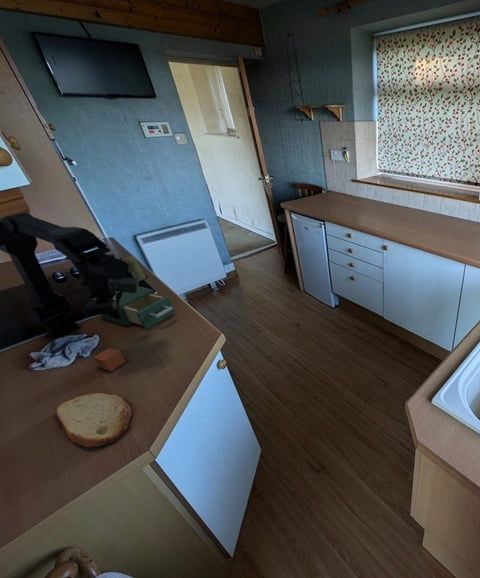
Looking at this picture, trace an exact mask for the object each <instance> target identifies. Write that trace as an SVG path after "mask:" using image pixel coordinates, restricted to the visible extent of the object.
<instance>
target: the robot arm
mask: <svg viewBox="0 0 480 578" xmlns="http://www.w3.org/2000/svg"><path fill="white" fill-rule="evenodd" d="M38 240H42V241H45V242H48V243H50V244H51V245H53V247H54V249H55V250H56V251H57V252H60V253H61V254H62V255H64V256H65V260H67V261H70V262H71V263H72V265H73V267H74V268H75V270H76V272H77V273H78V276H79V277H80V279H81V281H80V285H81V287H85V288H86V289H87V291H88V292H89V293H88V295H87V297H88V299H94V298H96V300H94V301H93V300H89V301H88V302H87V303H86V305H85V307H84V308H83V310H82V312H83V314H84V316H85V317H86V318H92V317H96V316H101V314H108V315H110V316H111V317H113V318H115V319H120V318H121V313H120V306H119V302H120V299H121V297H122V294H123V292H129V293H136V292H137V289H138V286H139V281H138V280H139V279H138V278H137V276H135V275H134V273H133V272H129V267H128V265H127V263H125V262H124V261H123V260H122V259H120V258H116V257H115V255H114V254H107V253H110V252H111V249H110V248H109V247H108V245H107V243H105V242H104V241H103V240H102V239H101V238H99V237H98V236H96V235H95V233H93V232H92V231H90V230H88V229H86V228H84V227H78V226H60V225H58V224H55V223H52V222H50V221H47V220H44V219H41V218H39V217H36V216H33V215H32V214H31V213H29V212H19V213H15V214H10V215H5V216H4V217H2V218H1V219H0V251H1V252H3V253H5V254H7V255H8V256H9V258H10V259H11V261H12V263H13V265H14V266H15V269H16V270H17V272H18V273H19V276H20V277H21V279H22V282H23V283H24V284H25V286H26V288H27V290H28V291H29V294H30V295H29V298H28V300H27V306H28V308H29V312H28V316H27V318H28V319H29V320H30V322H32V323H33V324H37V325H41V326H42V327H43V329H44V331H45V332H44V334H45V335H46V336H49V337H53V338H55V339H58V338H61V337H62V336H65V335H66V334H68V333H70V332H73V331H74V330H77V329H78V328H79V325H77V323H76V321H75V320H74V318H73V316H72V315H71V314H68V313H71V312H72V307H71V305H70V301H69V300H68V299H67V296H64V295H62V294H60V293H58V292H56V291H54V289H53V287H52V285H51V283H50V281H49V279H48V278H47V275H46V273H45V271H44V269H43V267H42V265H41V263H40V261H39V259H38V258H37V255H36V253H35V252H36V249H37V247H38V245H39V242H38ZM116 291H117V292H119V293H117V292H116Z"/></svg>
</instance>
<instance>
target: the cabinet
mask: <svg viewBox="0 0 480 578" xmlns="http://www.w3.org/2000/svg"><path fill="white" fill-rule="evenodd" d="M116 292H117V291H116ZM117 293H119V292H117ZM148 294H153V295H156V293H155V291H154V289H151V288H148V287H143V286H140V285H138V289H137V292H136V293H129V292H123V294H122V297H121V299H120V302H119V306H120V313H121V318H120V319H115V318H113V317H111V316H110V315H108V314H101V315H100V316H101V317H102V319H104V320H107V321H109V322H113V323H116V324H120V325H123V326H125V327H130V326H132V325H134V324H135V323H133V322H130V321H128V319H127V317H126V316H125V314H124V312H123V310H122V307H124V306H126V305H128V304H130V303H132V302H134V301H136V300H138V299H140V298H142V297H144V296H146V295H148ZM94 300H96V298H91V301H94Z"/></svg>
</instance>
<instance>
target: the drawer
mask: <svg viewBox="0 0 480 578" xmlns="http://www.w3.org/2000/svg"><path fill="white" fill-rule="evenodd" d="M122 310H123V312H124V314H125V316H126V317H127V319H128V321H130V322H133V323H134V324H137V325H141V326H142V327H143V329H149V328H150V327H152V326H154V325H155V324H157V323H158V322H160V321H162V320H163V319H165V318H167V317H168V316H170V315H172V314H173V313H175V312H176V309H175V307H174V305H173V303H172V301H171V298H170V296H164V297H163V296H161V295H157V294H155V295H153V294H148V295H146V296H144V297H142V298H140V299H138V300H136V301H134V302H132V303H130V304H128V305H126V306H124V307H122Z"/></svg>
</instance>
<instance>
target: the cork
mask: <svg viewBox="0 0 480 578" xmlns="http://www.w3.org/2000/svg"><path fill="white" fill-rule="evenodd" d="M121 260H123V261H124V262H125V263H127V265H128V267H129V272H133V273H134V275H135V276H137V278H138V279H139V280H138V282H141V281H143V280H145V279H146V278H147V277H146V275H145V273H144V272H143V271H142V269H141V267H140V266H139V264H138V260H137V258H136V256H133V255H128V256H125V257H123V258H122V259H121Z"/></svg>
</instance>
